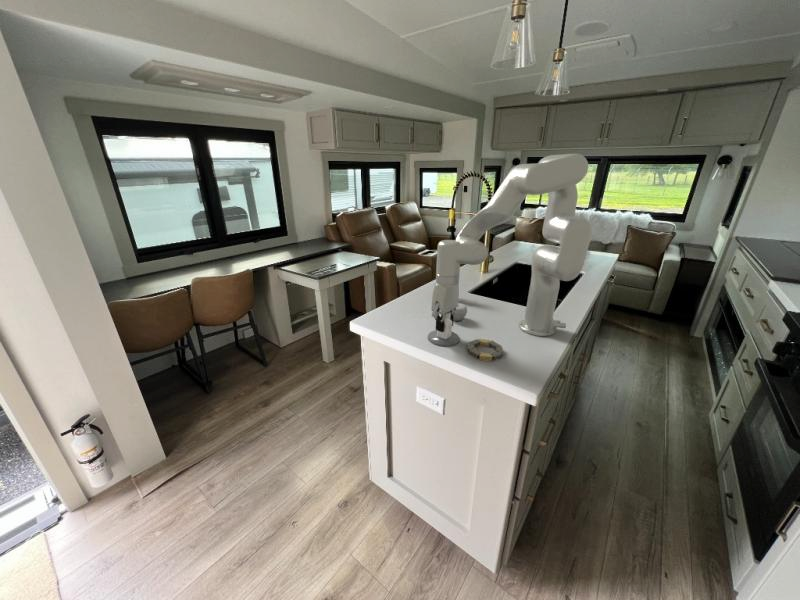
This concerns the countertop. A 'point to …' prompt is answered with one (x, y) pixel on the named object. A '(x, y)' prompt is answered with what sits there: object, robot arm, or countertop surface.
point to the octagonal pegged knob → (460, 312)
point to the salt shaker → (446, 327)
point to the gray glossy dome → (443, 342)
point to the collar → (485, 356)
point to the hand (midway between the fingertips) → (444, 327)
